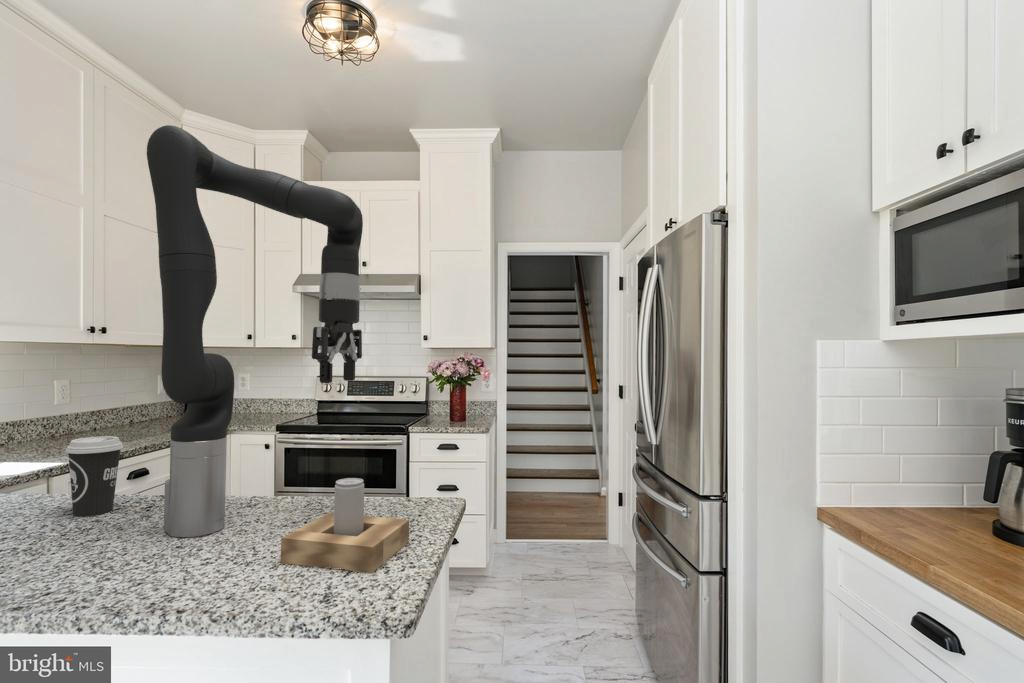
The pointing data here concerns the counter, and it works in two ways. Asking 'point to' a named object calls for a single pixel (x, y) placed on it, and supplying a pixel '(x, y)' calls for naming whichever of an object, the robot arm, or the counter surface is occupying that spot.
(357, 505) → the beverage can
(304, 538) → the socket
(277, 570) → the counter surface
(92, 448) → the coffee cup
